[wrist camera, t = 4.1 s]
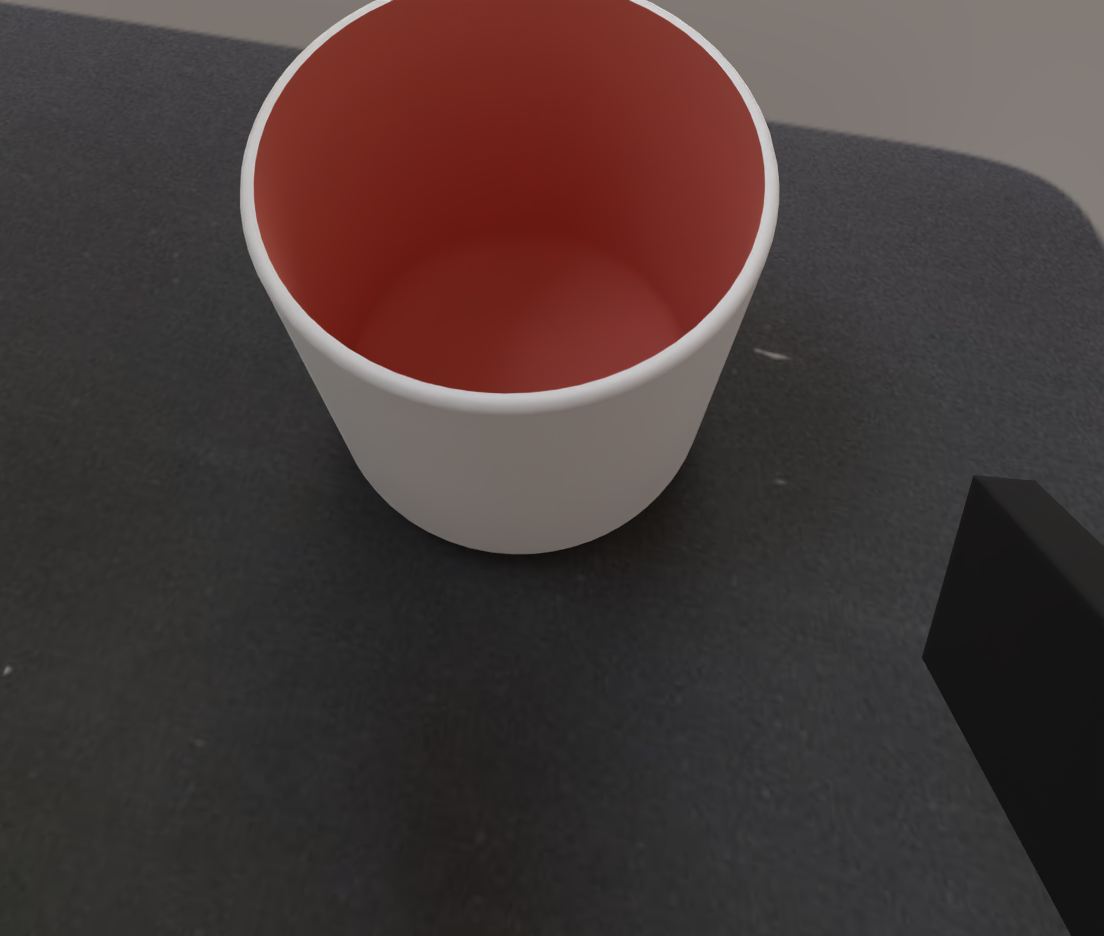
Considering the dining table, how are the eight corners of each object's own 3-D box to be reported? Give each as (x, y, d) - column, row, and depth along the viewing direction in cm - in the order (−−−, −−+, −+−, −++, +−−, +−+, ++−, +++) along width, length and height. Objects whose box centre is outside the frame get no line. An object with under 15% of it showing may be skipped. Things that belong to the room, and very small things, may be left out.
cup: (733, 533, 25) (850, 358, 15) (366, 597, 24) (254, 454, 15) (653, 229, 28) (708, -61, 19) (331, 277, 27) (223, -2, 18)
